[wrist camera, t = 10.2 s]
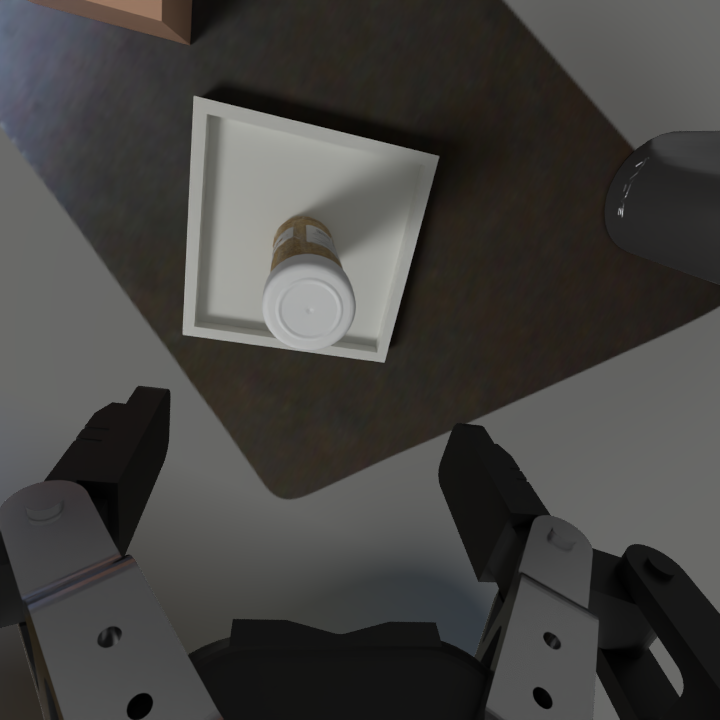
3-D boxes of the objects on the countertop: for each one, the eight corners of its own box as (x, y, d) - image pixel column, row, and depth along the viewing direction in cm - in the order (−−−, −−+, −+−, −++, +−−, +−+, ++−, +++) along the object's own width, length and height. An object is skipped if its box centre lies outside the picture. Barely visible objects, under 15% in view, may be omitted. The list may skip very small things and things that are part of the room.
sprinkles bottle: (263, 227, 32) (244, 282, 20) (322, 206, 32) (340, 249, 20) (286, 284, 34) (282, 365, 22) (342, 265, 34) (369, 336, 22)
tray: (432, 155, 32) (439, 156, 30) (380, 353, 38) (384, 362, 37) (199, 98, 28) (193, 95, 27) (187, 325, 35) (182, 334, 34)
